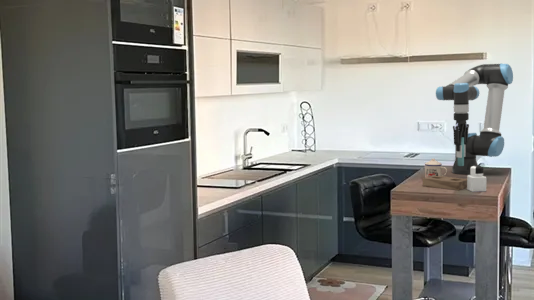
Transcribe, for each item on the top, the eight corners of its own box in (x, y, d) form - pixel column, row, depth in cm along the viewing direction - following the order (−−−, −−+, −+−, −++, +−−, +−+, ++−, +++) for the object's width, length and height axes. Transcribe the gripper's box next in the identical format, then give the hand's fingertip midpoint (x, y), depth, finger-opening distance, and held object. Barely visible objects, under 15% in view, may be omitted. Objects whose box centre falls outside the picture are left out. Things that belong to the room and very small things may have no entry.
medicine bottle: (480, 189, 311) (481, 165, 310) (486, 191, 304) (486, 167, 303) (466, 189, 311) (467, 165, 309) (471, 191, 304) (472, 167, 302)
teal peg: (459, 164, 332) (459, 136, 330) (464, 165, 330) (465, 137, 328) (456, 165, 330) (456, 137, 328) (462, 166, 328) (462, 137, 326)
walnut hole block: (434, 183, 331) (434, 175, 331) (469, 187, 317) (469, 179, 317) (422, 186, 323) (422, 178, 322) (458, 190, 309) (458, 182, 308)
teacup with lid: (422, 180, 341) (422, 159, 339) (426, 178, 349) (426, 157, 347) (445, 181, 335) (445, 160, 334) (448, 179, 343) (448, 158, 342)
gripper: (461, 111, 335) (461, 154, 338) (446, 113, 323) (446, 158, 326) (475, 111, 330) (474, 155, 332) (460, 113, 318) (459, 159, 321)
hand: (460, 156), depth 329 cm, fingers closed on teal peg, 3 cm apart
